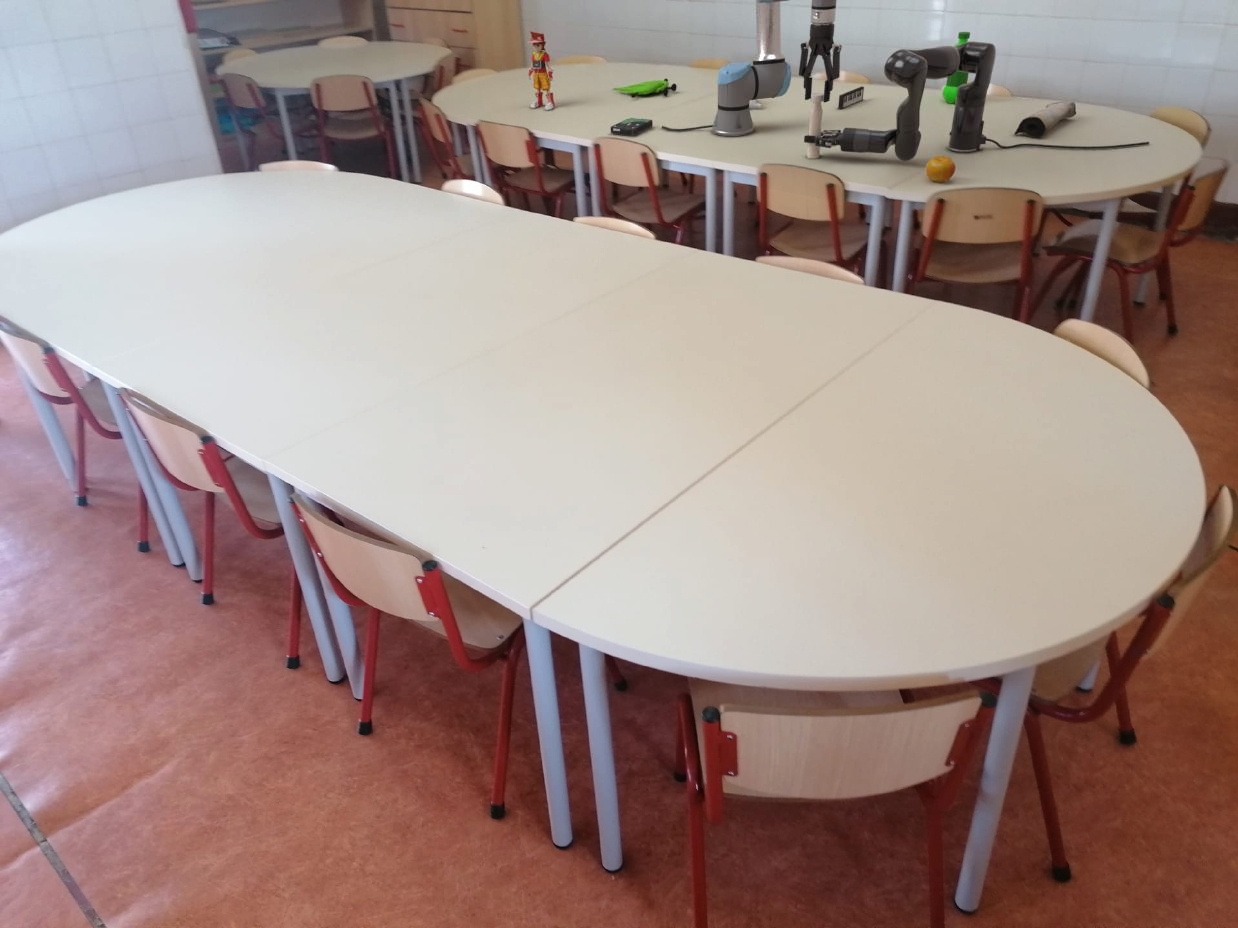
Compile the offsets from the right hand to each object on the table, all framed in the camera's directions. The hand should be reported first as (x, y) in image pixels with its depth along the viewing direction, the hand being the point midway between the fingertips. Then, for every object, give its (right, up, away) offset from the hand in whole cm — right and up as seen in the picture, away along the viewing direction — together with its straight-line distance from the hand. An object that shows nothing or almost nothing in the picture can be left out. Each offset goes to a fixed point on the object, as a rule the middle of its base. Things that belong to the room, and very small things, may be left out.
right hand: (806, 137), depth 303 cm
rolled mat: (+89, +10, +17) cm, 91 cm away
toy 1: (-96, +42, +80) cm, 132 cm away
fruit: (+36, -23, -25) cm, 49 cm away
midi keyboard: (+30, +34, +58) cm, 73 cm away
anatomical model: (-11, +36, +65) cm, 75 cm away
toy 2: (-54, +54, +94) cm, 122 cm away
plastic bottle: (+69, +33, +52) cm, 93 cm away
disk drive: (-59, +18, +42) cm, 74 cm away
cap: (+2, +11, -9) cm, 14 cm away
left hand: (+2, +9, -8) cm, 12 cm away
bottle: (+3, -6, +3) cm, 7 cm away
